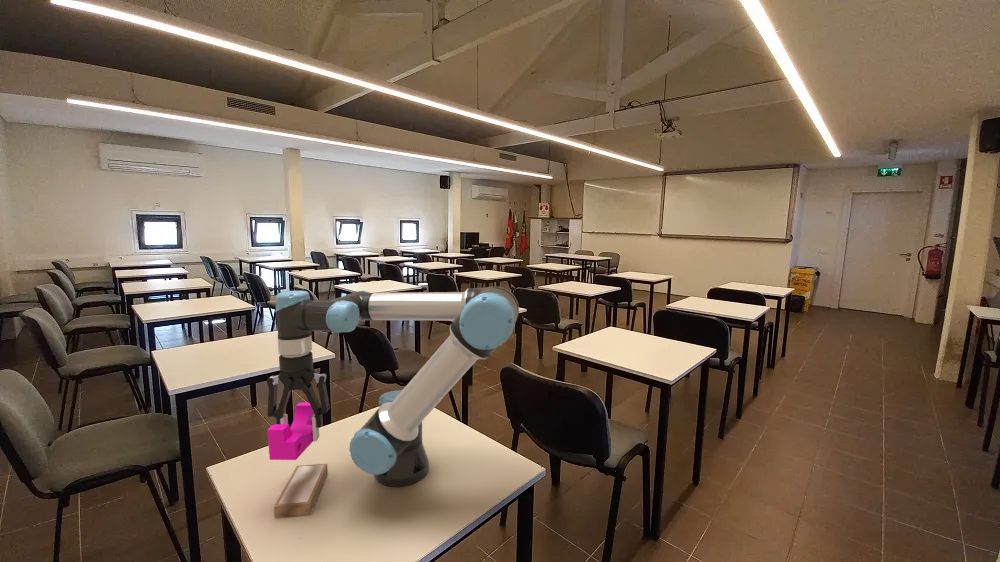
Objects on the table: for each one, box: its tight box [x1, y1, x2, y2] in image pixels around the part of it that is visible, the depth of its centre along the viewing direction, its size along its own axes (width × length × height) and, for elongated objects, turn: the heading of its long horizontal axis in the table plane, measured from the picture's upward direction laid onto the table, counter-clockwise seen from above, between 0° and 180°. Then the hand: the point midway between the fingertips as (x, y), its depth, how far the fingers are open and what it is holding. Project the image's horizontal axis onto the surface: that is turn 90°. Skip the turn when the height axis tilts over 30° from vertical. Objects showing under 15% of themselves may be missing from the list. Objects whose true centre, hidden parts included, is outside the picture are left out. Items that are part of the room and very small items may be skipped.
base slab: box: [273, 463, 329, 519], centre depth 106 cm, size 8×17×3 cm, turn 10°
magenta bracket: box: [266, 402, 314, 461], centre depth 103 cm, size 15×6×8 cm, turn 179°
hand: (301, 439), depth 105 cm, fingers closed on magenta bracket, 7 cm apart
